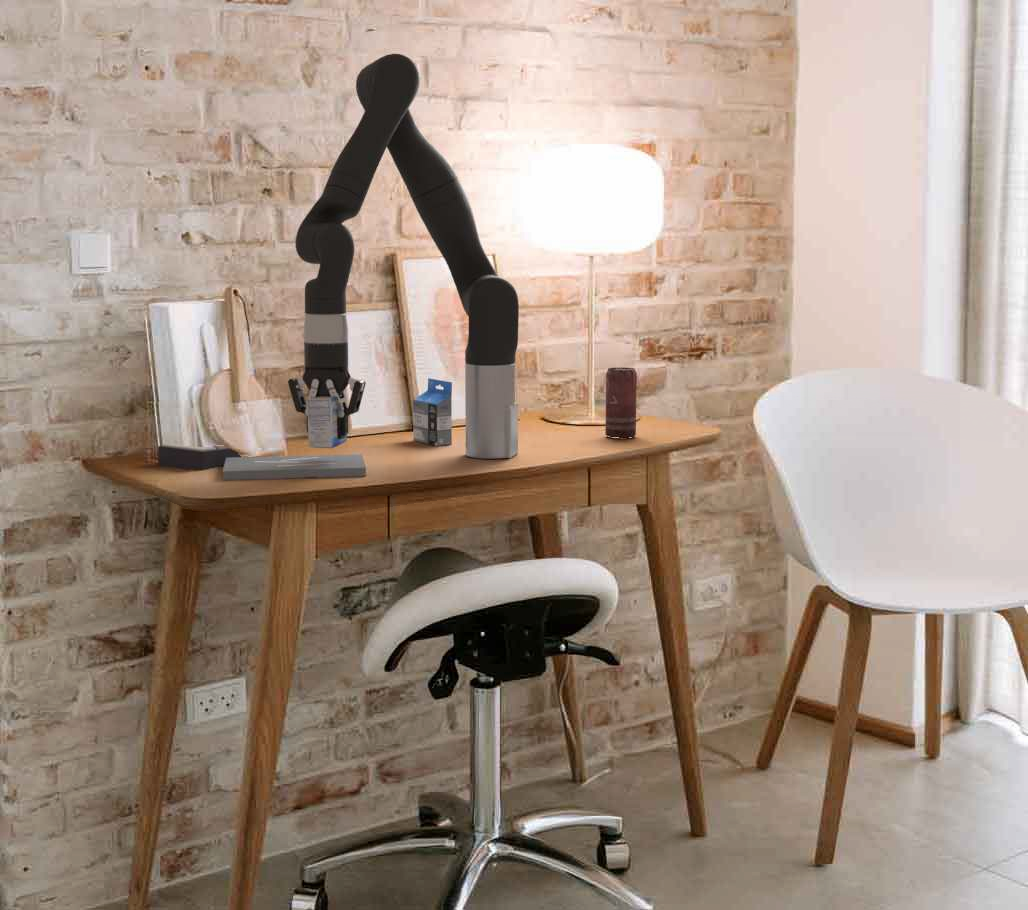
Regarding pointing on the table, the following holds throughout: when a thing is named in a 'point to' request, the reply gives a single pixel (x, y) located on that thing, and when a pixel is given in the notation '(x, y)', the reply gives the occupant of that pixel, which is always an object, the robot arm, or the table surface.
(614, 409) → the can
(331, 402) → the medicine box
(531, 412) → the table surface
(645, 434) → the table surface
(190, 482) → the table surface
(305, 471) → the slate board
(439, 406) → the label tape cartridge
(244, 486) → the table surface
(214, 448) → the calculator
